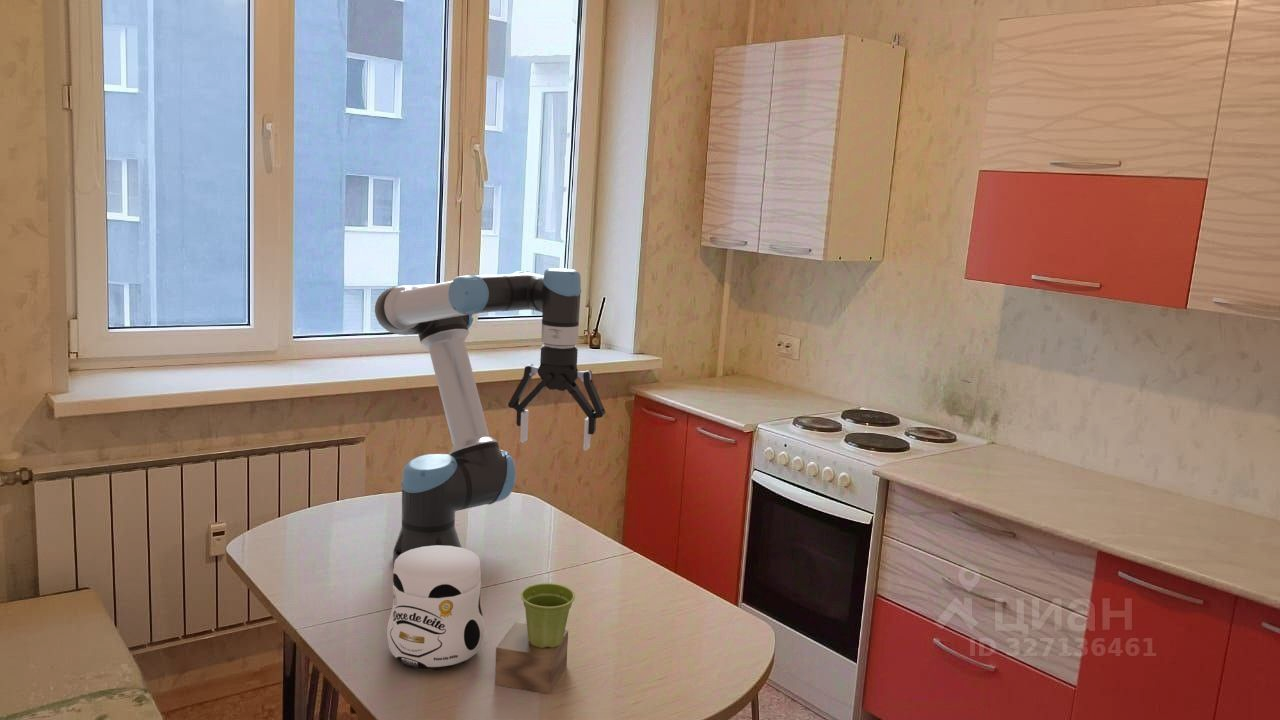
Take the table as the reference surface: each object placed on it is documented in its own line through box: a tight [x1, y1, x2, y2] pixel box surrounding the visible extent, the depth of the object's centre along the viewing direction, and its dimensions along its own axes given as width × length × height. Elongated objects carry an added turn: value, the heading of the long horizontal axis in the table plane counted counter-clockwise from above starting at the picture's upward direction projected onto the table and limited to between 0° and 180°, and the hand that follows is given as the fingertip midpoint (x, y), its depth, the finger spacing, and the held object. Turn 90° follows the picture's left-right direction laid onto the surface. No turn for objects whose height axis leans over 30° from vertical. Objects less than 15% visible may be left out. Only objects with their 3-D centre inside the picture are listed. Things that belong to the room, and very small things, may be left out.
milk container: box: [386, 545, 485, 670], centre depth 176 cm, size 17×17×18 cm
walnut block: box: [494, 621, 569, 695], centre depth 171 cm, size 10×10×7 cm
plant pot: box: [520, 582, 576, 648], centre depth 169 cm, size 9×9×9 cm
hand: (554, 445), depth 202 cm, fingers open, 13 cm apart
